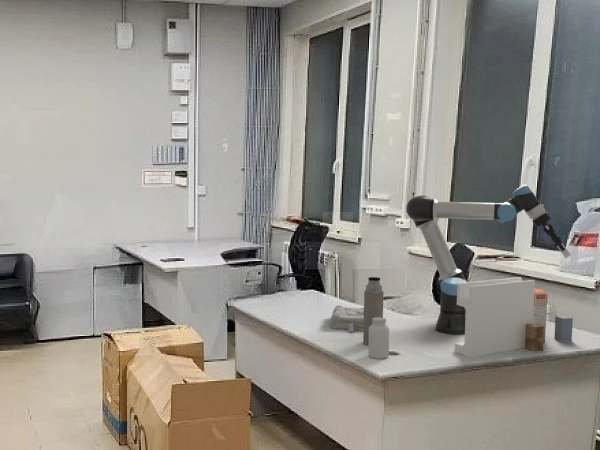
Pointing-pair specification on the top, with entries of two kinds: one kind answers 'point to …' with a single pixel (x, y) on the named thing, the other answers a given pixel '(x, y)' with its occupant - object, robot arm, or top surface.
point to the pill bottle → (378, 339)
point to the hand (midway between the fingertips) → (566, 254)
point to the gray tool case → (347, 318)
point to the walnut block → (534, 337)
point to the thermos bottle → (372, 305)
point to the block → (495, 315)
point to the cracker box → (540, 308)
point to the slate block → (563, 328)
